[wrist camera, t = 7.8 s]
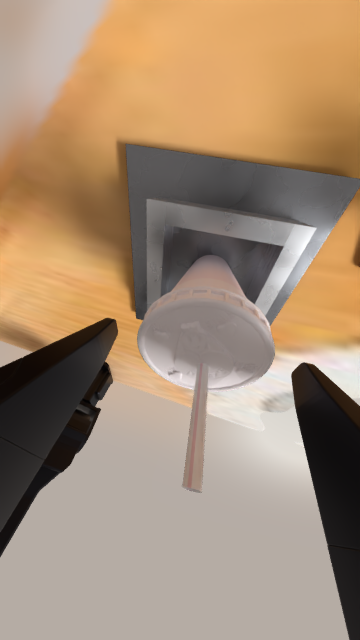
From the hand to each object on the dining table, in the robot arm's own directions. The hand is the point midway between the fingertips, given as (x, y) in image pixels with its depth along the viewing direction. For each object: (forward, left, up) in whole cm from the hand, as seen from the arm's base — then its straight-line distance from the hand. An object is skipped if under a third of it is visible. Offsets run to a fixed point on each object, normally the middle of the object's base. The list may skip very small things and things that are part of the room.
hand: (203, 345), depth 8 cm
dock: (0, 0, -10) cm, 10 cm away
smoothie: (0, 0, -9) cm, 9 cm away
